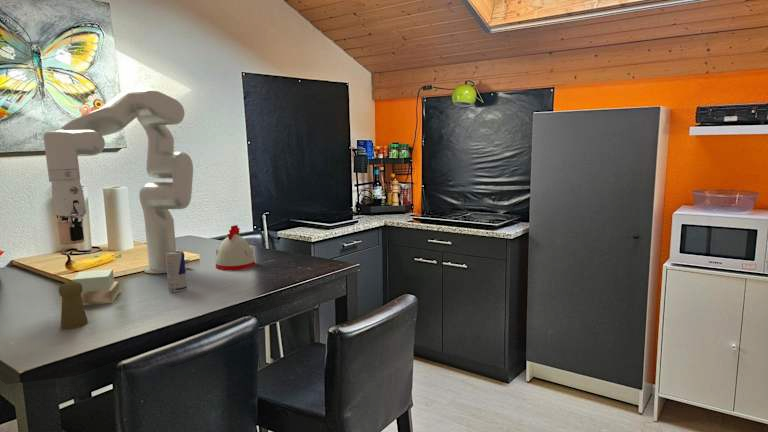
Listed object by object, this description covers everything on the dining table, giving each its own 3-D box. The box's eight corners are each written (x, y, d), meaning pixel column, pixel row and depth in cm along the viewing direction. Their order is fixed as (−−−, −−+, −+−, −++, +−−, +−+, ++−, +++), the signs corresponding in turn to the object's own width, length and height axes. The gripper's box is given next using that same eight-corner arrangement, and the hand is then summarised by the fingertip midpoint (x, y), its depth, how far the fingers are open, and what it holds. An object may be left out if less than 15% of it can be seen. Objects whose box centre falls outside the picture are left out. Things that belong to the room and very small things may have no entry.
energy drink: (190, 288, 164) (187, 250, 163) (178, 293, 159) (175, 254, 158) (176, 287, 166) (173, 250, 164) (164, 291, 161) (161, 253, 159)
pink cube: (87, 239, 153) (84, 219, 152) (80, 243, 147) (78, 222, 146) (64, 241, 151) (61, 220, 150) (56, 245, 145) (54, 224, 144)
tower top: (114, 281, 160) (112, 269, 160) (109, 289, 152) (108, 276, 151) (80, 285, 158) (79, 272, 157) (74, 293, 149) (72, 279, 149)
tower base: (119, 293, 162) (118, 281, 161) (112, 304, 151) (111, 290, 151) (80, 297, 159) (78, 284, 158) (69, 308, 148) (68, 294, 148)
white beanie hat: (260, 262, 199) (258, 223, 197) (245, 271, 186) (243, 229, 183) (226, 261, 201) (224, 222, 199) (208, 270, 188) (206, 228, 186)
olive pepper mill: (68, 321, 136) (63, 280, 134) (92, 320, 136) (88, 279, 135) (55, 329, 130) (50, 286, 128) (81, 328, 130) (76, 285, 129)
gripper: (93, 175, 144) (100, 239, 147) (64, 173, 154) (72, 233, 157) (63, 177, 138) (71, 244, 141) (36, 175, 148) (44, 238, 151)
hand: (72, 238), depth 149 cm, fingers closed on pink cube, 6 cm apart
